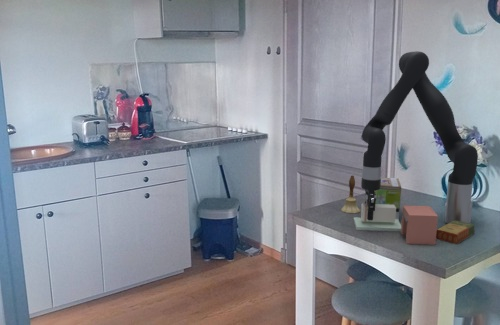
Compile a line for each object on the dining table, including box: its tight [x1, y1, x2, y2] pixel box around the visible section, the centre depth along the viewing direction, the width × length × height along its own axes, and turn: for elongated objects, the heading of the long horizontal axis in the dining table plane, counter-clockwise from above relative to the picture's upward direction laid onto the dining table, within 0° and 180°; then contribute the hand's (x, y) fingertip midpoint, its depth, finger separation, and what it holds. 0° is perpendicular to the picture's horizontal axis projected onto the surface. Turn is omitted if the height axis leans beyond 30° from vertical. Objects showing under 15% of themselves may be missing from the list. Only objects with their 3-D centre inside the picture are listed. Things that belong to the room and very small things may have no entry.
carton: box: [436, 220, 476, 245], centre depth 193 cm, size 8×16×4 cm, turn 135°
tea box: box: [375, 177, 402, 220], centre depth 218 cm, size 15×10×15 cm
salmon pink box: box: [400, 204, 439, 246], centre depth 189 cm, size 10×12×11 cm
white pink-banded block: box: [360, 203, 396, 222], centre depth 203 cm, size 13×4×6 cm, turn 84°
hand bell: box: [340, 175, 361, 214], centre depth 222 cm, size 8×8×16 cm
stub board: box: [353, 217, 402, 232], centre depth 204 cm, size 18×12×1 cm, turn 84°
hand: (369, 217), depth 204 cm, fingers closed on white pink-banded block, 4 cm apart
